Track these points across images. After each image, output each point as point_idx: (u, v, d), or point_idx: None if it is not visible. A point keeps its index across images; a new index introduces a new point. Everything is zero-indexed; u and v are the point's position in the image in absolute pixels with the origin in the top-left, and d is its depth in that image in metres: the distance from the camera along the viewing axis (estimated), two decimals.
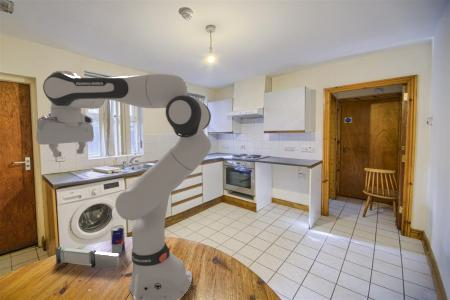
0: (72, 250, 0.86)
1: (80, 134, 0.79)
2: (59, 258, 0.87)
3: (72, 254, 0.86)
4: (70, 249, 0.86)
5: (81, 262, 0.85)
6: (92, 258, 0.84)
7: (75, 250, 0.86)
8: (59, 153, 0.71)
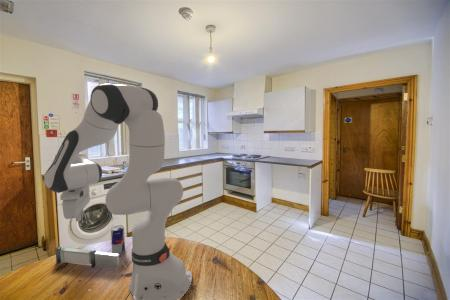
0: (72, 250, 0.86)
1: None
2: (59, 258, 0.87)
3: (72, 254, 0.86)
4: (70, 249, 0.86)
5: (81, 262, 0.85)
6: (92, 258, 0.84)
7: (75, 250, 0.86)
8: None
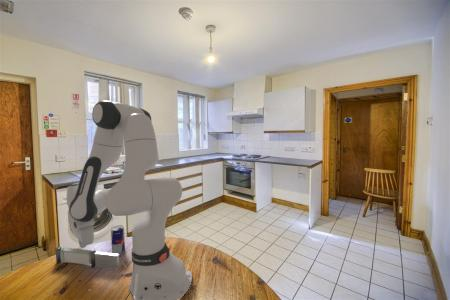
0: (72, 250, 0.86)
1: (78, 234, 0.88)
2: (59, 258, 0.87)
3: (72, 254, 0.86)
4: (70, 249, 0.86)
5: (81, 262, 0.85)
6: (92, 258, 0.84)
7: (75, 250, 0.86)
8: (79, 244, 0.92)
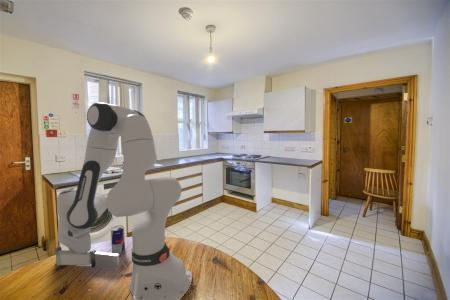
0: (70, 252, 0.84)
1: (72, 244, 0.84)
2: None
3: (70, 256, 0.84)
4: (67, 251, 0.85)
5: (80, 263, 0.85)
6: (92, 258, 0.84)
7: (73, 252, 0.85)
8: None
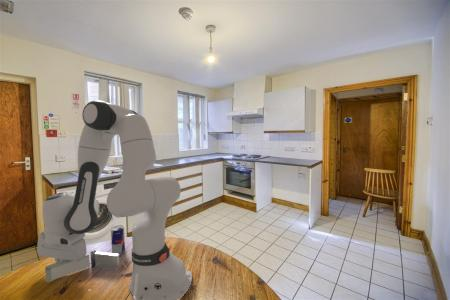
0: (64, 262, 0.78)
1: (64, 252, 0.78)
2: None
3: (64, 265, 0.78)
4: (59, 262, 0.78)
5: (78, 269, 0.81)
6: (92, 258, 0.84)
7: (68, 260, 0.79)
8: None
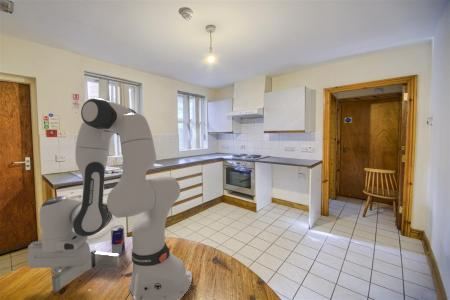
0: None
1: (66, 259, 0.74)
2: None
3: (71, 270, 0.76)
4: (65, 269, 0.74)
5: (82, 271, 0.80)
6: (92, 258, 0.84)
7: None
8: None
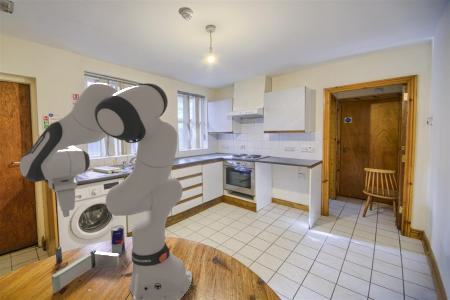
0: (70, 266, 0.75)
1: None
2: (59, 258, 0.87)
3: (71, 270, 0.76)
4: (65, 269, 0.74)
5: (82, 271, 0.80)
6: (92, 258, 0.84)
7: (73, 264, 0.77)
8: None
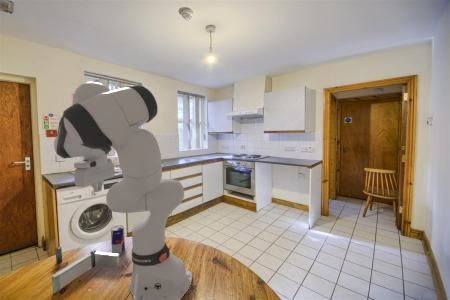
0: (70, 266, 0.75)
1: None
2: (59, 258, 0.87)
3: (71, 270, 0.76)
4: (65, 269, 0.74)
5: (82, 271, 0.80)
6: (92, 258, 0.84)
7: (73, 264, 0.77)
8: None
